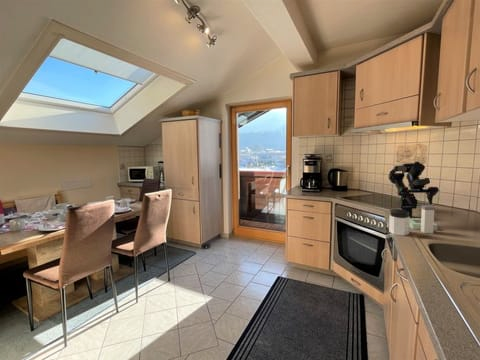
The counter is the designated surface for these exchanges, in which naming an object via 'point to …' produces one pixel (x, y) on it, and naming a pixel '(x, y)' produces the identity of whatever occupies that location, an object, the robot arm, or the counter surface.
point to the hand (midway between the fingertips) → (421, 204)
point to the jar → (399, 222)
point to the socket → (418, 224)
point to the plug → (427, 218)
